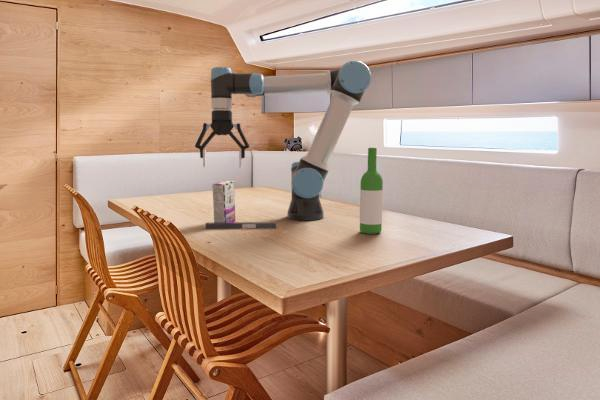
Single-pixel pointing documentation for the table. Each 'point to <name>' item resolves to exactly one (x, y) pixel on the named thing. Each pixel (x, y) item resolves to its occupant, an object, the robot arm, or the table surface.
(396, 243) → the table surface
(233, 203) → the candy bar box
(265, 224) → the price rail
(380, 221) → the wine bottle
